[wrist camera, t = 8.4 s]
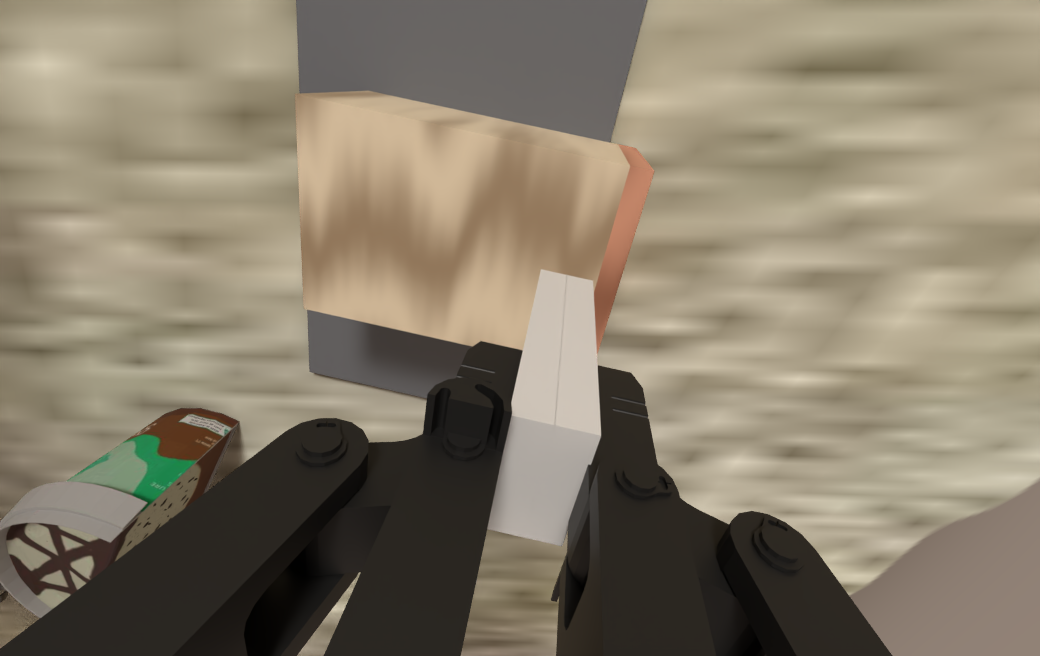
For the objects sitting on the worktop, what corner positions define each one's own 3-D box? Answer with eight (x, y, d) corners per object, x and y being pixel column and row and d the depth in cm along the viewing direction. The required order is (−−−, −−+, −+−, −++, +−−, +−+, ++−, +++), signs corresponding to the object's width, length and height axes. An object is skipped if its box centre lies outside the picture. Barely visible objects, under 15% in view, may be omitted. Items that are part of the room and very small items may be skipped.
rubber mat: (297, -166, 17) (290, -173, 17) (669, -89, 17) (671, -94, 17) (313, 367, 29) (309, 371, 28) (537, 417, 29) (536, 423, 28)
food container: (156, 358, 30) (-21, 473, 21) (245, 407, 31) (112, 536, 22) (122, 469, 35) (-30, 597, 27) (199, 508, 36) (78, 643, 28)
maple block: (635, 148, 20) (368, 90, 21) (654, 171, 15) (295, 93, 15) (589, 309, 24) (364, 259, 24) (591, 373, 19) (303, 308, 19)
